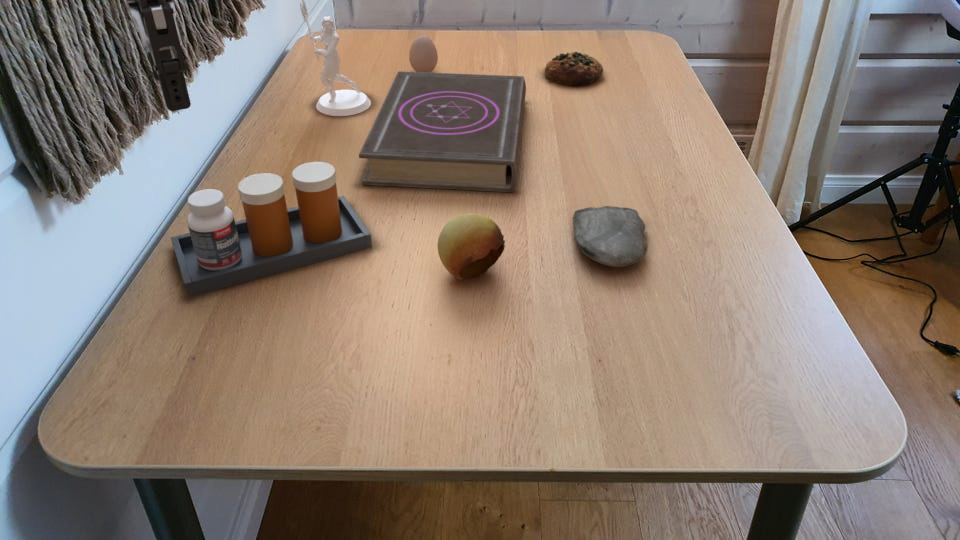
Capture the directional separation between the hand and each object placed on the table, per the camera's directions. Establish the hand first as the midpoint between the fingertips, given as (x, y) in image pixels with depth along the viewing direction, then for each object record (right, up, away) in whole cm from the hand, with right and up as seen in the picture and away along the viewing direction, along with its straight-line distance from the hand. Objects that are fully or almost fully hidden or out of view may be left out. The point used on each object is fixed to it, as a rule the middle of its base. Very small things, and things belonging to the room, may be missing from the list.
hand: (172, 93), depth 75 cm
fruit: (+30, -19, +14) cm, 38 cm away
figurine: (+7, +11, +54) cm, 55 cm away
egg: (+21, +19, +64) cm, 70 cm away
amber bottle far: (+11, -13, +21) cm, 27 cm away
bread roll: (+49, +19, +64) cm, 83 cm away
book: (+27, +3, +43) cm, 50 cm away
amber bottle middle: (+5, -15, +18) cm, 24 cm away
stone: (+48, -15, +20) cm, 54 cm away
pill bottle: (-1, -17, +16) cm, 23 cm away
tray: (+5, -15, +18) cm, 25 cm away
